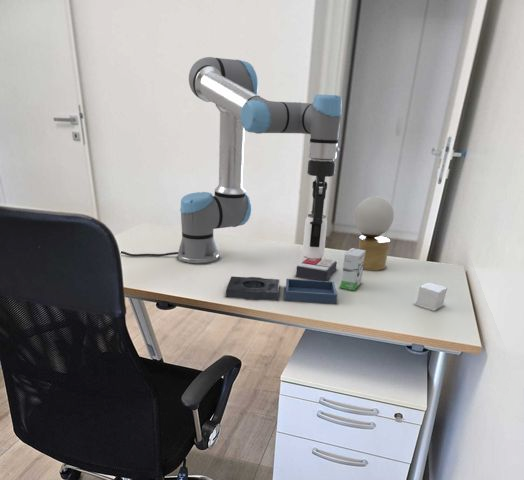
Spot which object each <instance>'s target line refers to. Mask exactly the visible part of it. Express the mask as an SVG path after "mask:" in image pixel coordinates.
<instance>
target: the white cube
mask: <svg viewBox="0 0 524 480" xmlns="http://www.w3.org/2000/svg"><path fill="white" fill-rule="evenodd" d="M447 291H448V287H447V286H443V285H440V284H436V283H432V282H427V283H425V284H423V285H421V286H419V289H418V294H417V298H416V302H415V306H417V307H421V308H424V309H426V310H430V311H433V312H434V311H437V310H438V309H440V308H441V307H443V306H444V302H445V299H446V294H447Z"/></svg>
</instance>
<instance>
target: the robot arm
mask: <svg viewBox="0 0 524 480" xmlns="http://www.w3.org/2000/svg"><path fill="white" fill-rule="evenodd" d="M188 85H189V88H190V90H191V92H192V93H193V94H194V96H196V97H197V98H198V99H200V100H201V101H203V102H206V103H213V104H214V105H215V107H216V109H218V111H219V142H218V143H219V145H218V147H219V148H218V150H219V151H218V152H219V153H218V185H217V186H216V187H215V188H214V195H213V193H211V192H209V191H201V192H200V191H197V192H191V193H188V194H185V195H184V196H182V197H181V200H180V208H179V212H180V221H181V222H180V223H181V240H180V244H179V248H178V251H174V252H167V253H130V252H126V251H122V250H120V251H121V253H120V254H122V255H126V256H128V257H166V256H167V257H168V256H173V255H177V257H178V260H179V261H180V262H183V263H187V264H195V265H196V264H197V265H199V264H200V265H201V264H203V265H204V264H209V263H214V262H216V261H217V260H218V259H219V250H218V248H217V245H216V242H215V239H214V238H215V237H214V230H216V229H225V228H237V227H239V226H240V227H241V226H243V225H246V223H247V222H249V219H250V217H251V214H252V202H251V199H250V196H248V194H246V193H247V190H246V189H245V188H244V187H243V170H244V148H245V131H246V132H247V133H253V134H257V135H260V134H304V135H310V138H309V146H308V155H307V156H308V158H309V160H308V162H307V175H309V176H312V177H315V179H314V180H313V181H312V193H311V194H312V204H311V212H310V214H313V221H312V222H310V224H312V228H311V239H310V247H319V244H320V234H321V224H322V222H323V221H322V217H323V215H324V205H325V200H326V194H327V193H326V192H327V189H328V183H327V181H326V177H329V178H330V177H333V176H335V173H336V161H335V160H336V159H337V152H340V147H339V146H338V144H339V136H340V129H341V128H340V127H341V120H342V115H343V113H342V111H343V99H342V97H341V95H337V94H315V95H314V96H313V100H312V103H311V102H310V103H309V102H300V101H299V102H296V101H295V102H290V101H273V100H267V99H265V98H264V97H261V96H260V95H258V91H259V79H258V75H257V72H256V70H255V68H254V66H253V65H252V63H250V62H248V61H245V60H241V59H231V58H221V57H213V56H205V57H202V58H200V59H198V60H196V61H195V62H194V63H193V65H192V66H191V68H190V70H189V73H188Z"/></svg>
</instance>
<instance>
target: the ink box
mask: <svg viewBox="0 0 524 480" xmlns="http://www.w3.org/2000/svg"><path fill="white" fill-rule="evenodd" d="M364 257H365V250H360V249H358V248H355V247H351V248H349V250H348V251H346V252H345V253H344V258H343V265H342V273H341V279H340V280H341V281H340V287H339V288H340V289H345V290H350V291H355V290H356V289H357V288H358V287H359V286H360V285H361V282H362V275H363V270H364V269H363V263H364Z"/></svg>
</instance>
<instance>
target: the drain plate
mask: <svg viewBox="0 0 524 480" xmlns="http://www.w3.org/2000/svg"><path fill="white" fill-rule="evenodd" d="M280 283H281V282H280V278H266V277H265V278H264V277H257V276H247V277H245V276H233V275H232V276H230V278H229V281H228V283H227V286H226V288H225V297H226V298H235V299H244V300H253V301H254V300H255V301H258V300H264V301H265V300H266V301H267V300H268V301H278V300H279V294H280V293H279V292H280Z"/></svg>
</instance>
